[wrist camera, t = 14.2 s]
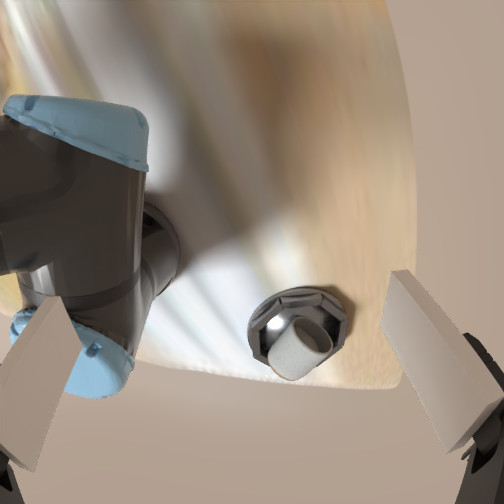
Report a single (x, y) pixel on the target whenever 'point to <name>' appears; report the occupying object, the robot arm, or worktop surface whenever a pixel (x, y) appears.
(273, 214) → the worktop surface
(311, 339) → the ceramic mug
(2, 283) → the worktop surface
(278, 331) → the ring plate
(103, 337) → the robot arm
